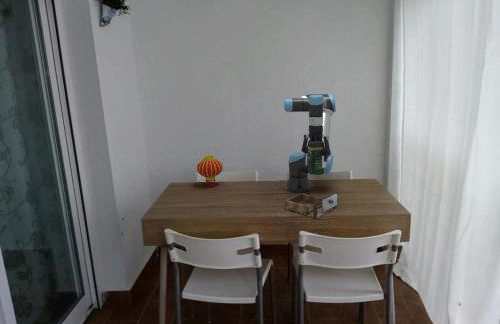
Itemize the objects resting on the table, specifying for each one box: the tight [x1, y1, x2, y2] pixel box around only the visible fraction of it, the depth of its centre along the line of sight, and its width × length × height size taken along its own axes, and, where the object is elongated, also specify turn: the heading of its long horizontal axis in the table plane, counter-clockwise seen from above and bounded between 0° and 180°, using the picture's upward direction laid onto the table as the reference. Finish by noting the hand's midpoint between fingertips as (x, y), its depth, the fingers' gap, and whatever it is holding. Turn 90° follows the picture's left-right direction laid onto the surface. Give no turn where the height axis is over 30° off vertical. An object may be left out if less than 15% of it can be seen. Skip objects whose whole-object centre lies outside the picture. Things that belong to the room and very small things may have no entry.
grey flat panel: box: [322, 193, 338, 212], centre depth 190 cm, size 2×13×6 cm, turn 136°
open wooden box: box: [284, 192, 334, 220], centre depth 193 cm, size 20×15×6 cm
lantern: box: [196, 146, 224, 187], centre depth 239 cm, size 17×17×30 cm
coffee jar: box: [307, 140, 325, 176], centre depth 194 cm, size 10×8×19 cm
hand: (315, 166), depth 195 cm, fingers closed on coffee jar, 9 cm apart
